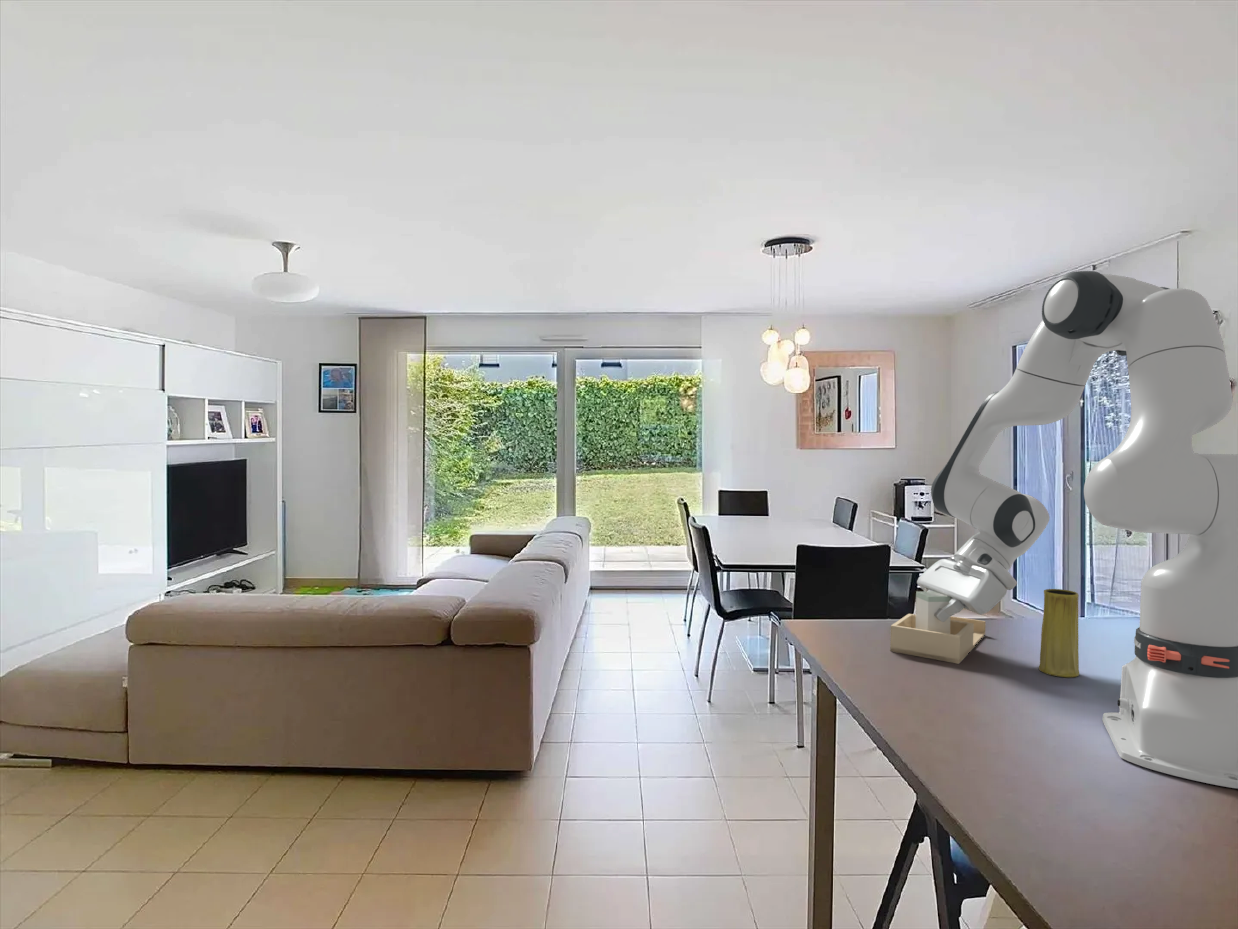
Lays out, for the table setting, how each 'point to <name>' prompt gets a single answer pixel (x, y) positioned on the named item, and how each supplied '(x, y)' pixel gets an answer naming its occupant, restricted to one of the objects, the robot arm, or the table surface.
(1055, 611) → the vase
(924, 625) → the carton
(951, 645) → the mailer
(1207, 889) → the table surface
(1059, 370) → the robot arm
